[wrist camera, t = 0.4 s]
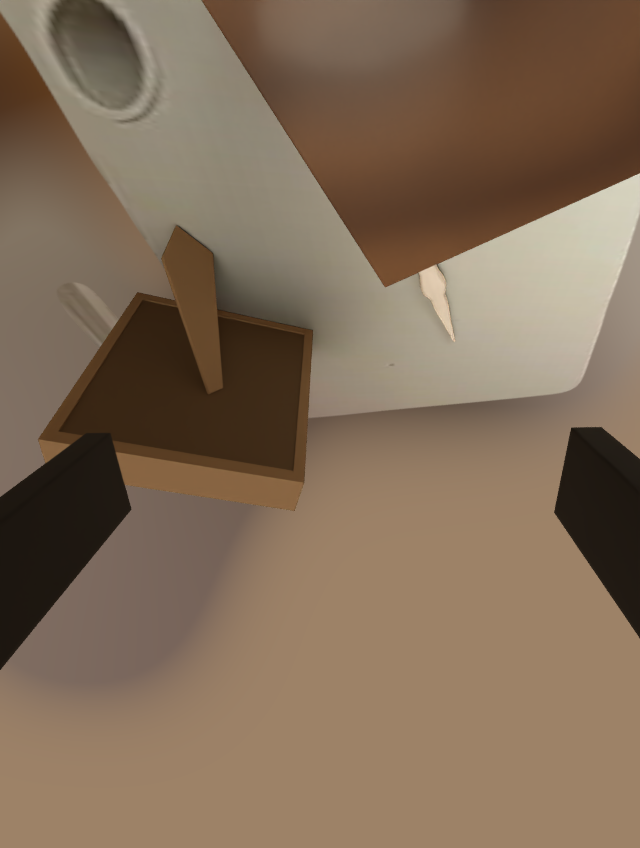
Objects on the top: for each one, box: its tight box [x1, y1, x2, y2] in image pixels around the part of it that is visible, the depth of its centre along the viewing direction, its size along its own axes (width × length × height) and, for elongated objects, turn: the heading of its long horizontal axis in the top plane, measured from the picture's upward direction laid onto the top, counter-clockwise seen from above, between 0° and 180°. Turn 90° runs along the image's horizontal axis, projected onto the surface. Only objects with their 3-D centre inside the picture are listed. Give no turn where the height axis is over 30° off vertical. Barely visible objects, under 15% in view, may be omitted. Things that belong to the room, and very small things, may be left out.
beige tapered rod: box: [418, 264, 455, 342], centre depth 49 cm, size 15×3×2 cm, turn 28°
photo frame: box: [38, 226, 313, 511], centre depth 45 cm, size 15×22×25 cm
